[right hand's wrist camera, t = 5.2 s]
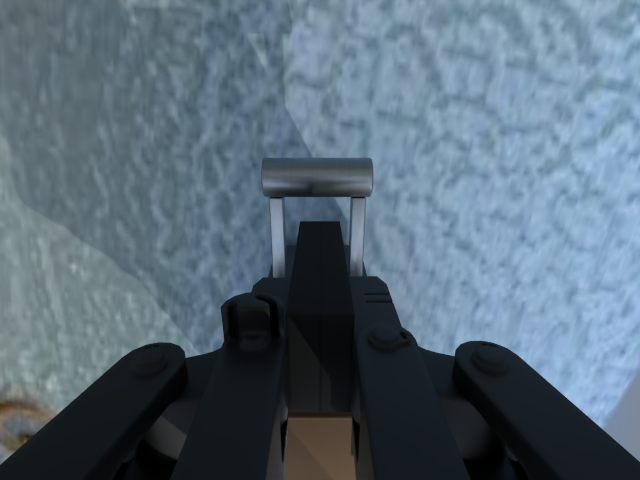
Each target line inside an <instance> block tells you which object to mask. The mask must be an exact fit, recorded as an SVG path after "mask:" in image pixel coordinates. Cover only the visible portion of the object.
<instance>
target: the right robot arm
mask: <svg viewBox="0 0 640 480" xmlns="http://www.w3.org/2000/svg"><path fill="white" fill-rule="evenodd" d="M221 314H222V323H223V332H224V342H223V345H222V347H221V348H220V349H218V350H216V351H214V352H210V353H207V354H203V355H198V356H193V357H188V358H185V352H184V350H183V349H182V348H181V347H180V346H178V345H175V344H172V343H153V344H148V345H145V346H142V347H140V348H137V349H135V350H133V351H131V352H130V353H128V354H127V355H125V356H124V357H122V358H121V359H120V360H119V361H118V362H117V363H116V364H114V365H113V366H112V367H111V368H110V369H109V370H108V371H106V372H105V373H104V374H103V375H102V376H101V377H100V378H99V379H97V380H96V381H95V382H94V383H93V384H92V385H91V386H89V387H88V388H87V389H86V390H85V391H84V392H83V393H81V394H80V395H79V396H78V397H77V398H76V399H75V400H74V401H72V402H71V403H70V404H69V405H68V406H67V407H66V408H64V409H63V410H62V411H61V412H60V413H59V414H58V415H56V416H55V417H54V418H53V419H52V420H51V421H50V422H49V423H47V424H46V425H45V426H44V427H43V428H42V429H41V430H39V431H38V432H37V433H36V434H35V435H34V436H33V437H31V438H30V439H29V440H28V441H27V442H26V443H25V444H24V445H22V446H21V447H20V448H19V449H18V450H17V451H16V452H14V453H13V454H12V455H11V456H10V457H9V458H8V459H6V460H5V461H4V462H3V463H2V464H1V465H0V480H284V474H285V463H286V453H287V442H288V407H289V412H351V405H352V432H351V456H354V463H355V474H356V480H640V462H639V461H638V460H637V459H636V458H635V457H633V456H632V455H631V454H630V453H629V452H628V451H627V450H625V449H624V448H623V447H622V446H621V445H620V444H619V443H617V442H616V441H615V440H614V439H613V438H612V437H611V436H609V435H608V434H607V433H606V432H605V431H604V430H603V429H601V428H600V427H599V426H598V425H597V424H596V423H595V422H593V421H592V420H591V419H590V418H589V417H588V416H587V415H585V414H584V413H583V412H582V411H581V410H580V409H578V408H577V407H576V406H575V405H574V404H573V403H572V402H570V401H569V400H568V399H567V398H566V397H565V396H564V395H562V394H561V393H560V392H559V391H558V390H557V389H556V388H554V387H553V386H552V385H551V384H550V383H549V382H548V381H546V380H545V379H544V378H543V377H542V376H541V375H540V374H538V373H537V372H536V371H535V370H534V369H533V368H532V367H530V366H529V365H528V364H527V363H526V362H525V361H524V360H522V359H521V358H520V357H519V356H518V355H516V354H515V353H513V352H512V351H510V350H509V349H507V348H505V347H502V346H500V345H497V344H495V343H491V342H485V341H469V342H466V343H463V344H461V345H460V346H459V347H458V348H457V349H456V351H455V356H450V355H445V354H440V353H436V352H432V351H429V350H426V349H423V348H421V347H419V346H418V344H417V342H416V339H415V338H414V337H413V335H412V334H411V333H410V332H409V331H407V330H406V329H404V328H403V327H402V326H401V323H400V321H399V318H398V315H397V312H396V309H395V307H394V304H393V303H392V298H391V296H390V293H389V290H388V287H387V284H386V283H384V282H383V281H382V280H381V279H379V278H378V277H377V276H348V270H347V264H346V258H345V252H344V245H343V239H342V233H341V227H340V221H300V227H299V233H298V239H297V245H296V252H295V258H294V264H293V270H292V277H291V278H262V279H261V280H260V281H258V282H257V283H256V284H255V285H254V286H253V289H252V291H251V293H244V294H241V295H237V296H234V297H232V298H231V299H229V300H227V301H226V302H225V303H224V304H223V305H222V306H221Z"/></svg>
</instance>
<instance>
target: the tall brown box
mask: <svg viewBox="0 0 640 480" xmlns="http://www.w3.org/2000/svg"><path fill="white" fill-rule="evenodd" d="M351 432H352V405H351V412H289V407H288V442H287V453H286V463H285V474H284V480H356V474H355V463H354V456H351Z"/></svg>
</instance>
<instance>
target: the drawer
mask: <svg viewBox="0 0 640 480" xmlns="http://www.w3.org/2000/svg"><path fill="white" fill-rule="evenodd" d="M261 178H262V190H263V194H264V196H265V197H270V198H269V206H270V225H271V245H272V266H271V269H270V273H269V276H268V278H291V277H292V270H293V264H294V258H295V252H296V246H286V229H285V201H284V197H351V204H350V236H349V246H344V252H345V258H346V264H347V270H348V276H367V274H366V270H365V266H364V262H363V249H364V227H365V205H366V198H365V197H370V196H371V193H372V188H373V163H372V160H371V158H264V159H263V162H262V172H261Z"/></svg>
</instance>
